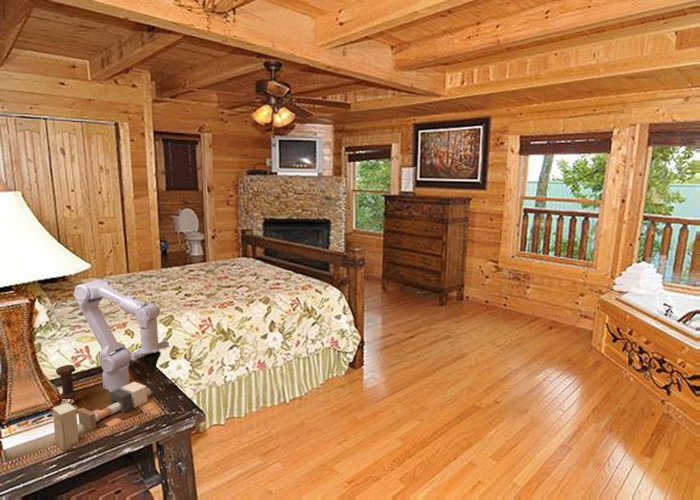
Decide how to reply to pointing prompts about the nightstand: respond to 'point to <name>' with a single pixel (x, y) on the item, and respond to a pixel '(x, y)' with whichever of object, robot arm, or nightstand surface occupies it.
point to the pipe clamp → (100, 414)
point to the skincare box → (65, 425)
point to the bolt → (67, 381)
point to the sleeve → (136, 393)
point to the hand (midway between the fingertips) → (151, 371)
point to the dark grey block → (122, 399)
